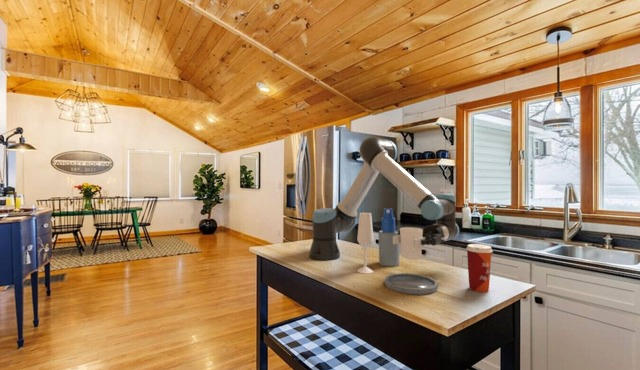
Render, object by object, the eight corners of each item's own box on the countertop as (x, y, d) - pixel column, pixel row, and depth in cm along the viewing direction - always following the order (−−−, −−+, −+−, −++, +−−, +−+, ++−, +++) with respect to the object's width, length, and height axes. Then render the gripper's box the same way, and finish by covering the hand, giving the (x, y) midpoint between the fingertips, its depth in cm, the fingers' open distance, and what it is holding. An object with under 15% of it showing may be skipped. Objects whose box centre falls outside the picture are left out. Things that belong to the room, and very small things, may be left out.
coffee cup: (490, 295, 104) (490, 249, 104) (463, 290, 109) (463, 246, 109) (494, 288, 111) (494, 245, 110) (468, 283, 116) (469, 242, 115)
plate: (377, 279, 120) (377, 275, 120) (419, 276, 124) (419, 271, 124) (400, 296, 102) (400, 291, 102) (448, 292, 107) (448, 286, 107)
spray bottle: (398, 266, 137) (397, 209, 137) (377, 265, 140) (376, 209, 139) (400, 261, 146) (398, 207, 145) (380, 260, 149) (379, 207, 148)
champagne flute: (361, 267, 136) (362, 212, 136) (376, 270, 132) (376, 213, 132) (354, 271, 131) (354, 213, 130) (368, 274, 127) (369, 214, 127)
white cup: (424, 260, 108) (424, 231, 108) (400, 259, 110) (400, 230, 110) (421, 254, 116) (421, 227, 116) (399, 253, 118) (399, 227, 118)
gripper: (461, 247, 118) (432, 257, 102) (411, 240, 133) (379, 248, 117) (461, 227, 118) (432, 234, 102) (411, 222, 133) (379, 228, 117)
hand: (404, 241), depth 110 cm, fingers closed on white cup, 8 cm apart
